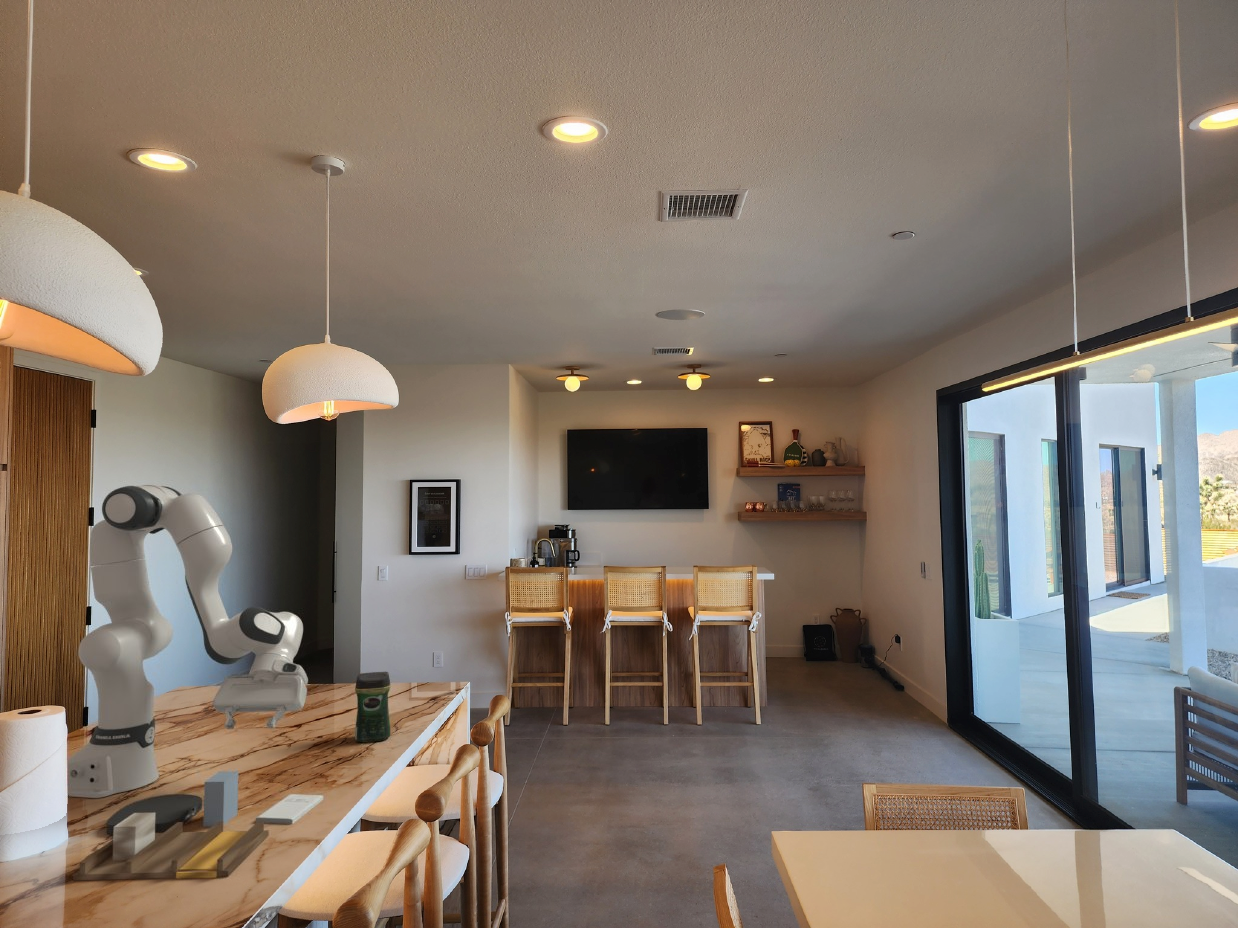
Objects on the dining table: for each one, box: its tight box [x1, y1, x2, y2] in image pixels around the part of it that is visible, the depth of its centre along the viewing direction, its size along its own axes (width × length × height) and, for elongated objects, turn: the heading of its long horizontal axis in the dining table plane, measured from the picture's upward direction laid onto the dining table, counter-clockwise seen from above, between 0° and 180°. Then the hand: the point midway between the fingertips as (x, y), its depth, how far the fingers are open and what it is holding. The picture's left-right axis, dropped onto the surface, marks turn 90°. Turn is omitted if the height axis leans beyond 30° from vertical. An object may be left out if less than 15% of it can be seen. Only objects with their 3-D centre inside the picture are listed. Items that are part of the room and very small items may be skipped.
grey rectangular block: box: [202, 770, 239, 827], centre depth 152 cm, size 4×6×9 cm, turn 2°
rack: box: [72, 813, 270, 881], centre depth 136 cm, size 27×16×7 cm, turn 92°
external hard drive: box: [255, 793, 324, 825], centre depth 156 cm, size 2×8×12 cm
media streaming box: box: [106, 793, 203, 836], centre depth 152 cm, size 15×15×3 cm
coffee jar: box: [354, 671, 391, 743], centre depth 205 cm, size 10×8×19 cm
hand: (249, 727), depth 165 cm, fingers open, 8 cm apart
